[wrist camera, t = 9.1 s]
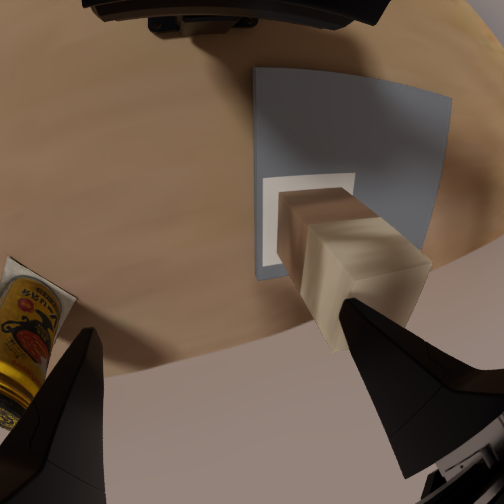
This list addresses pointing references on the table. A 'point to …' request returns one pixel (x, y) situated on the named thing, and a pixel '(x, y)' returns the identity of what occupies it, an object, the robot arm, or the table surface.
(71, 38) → the table surface
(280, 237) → the walnut block
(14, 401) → the condiment
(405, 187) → the grey base plate
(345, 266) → the birch block
